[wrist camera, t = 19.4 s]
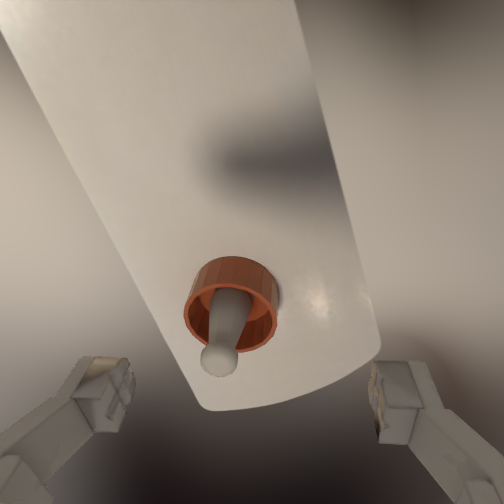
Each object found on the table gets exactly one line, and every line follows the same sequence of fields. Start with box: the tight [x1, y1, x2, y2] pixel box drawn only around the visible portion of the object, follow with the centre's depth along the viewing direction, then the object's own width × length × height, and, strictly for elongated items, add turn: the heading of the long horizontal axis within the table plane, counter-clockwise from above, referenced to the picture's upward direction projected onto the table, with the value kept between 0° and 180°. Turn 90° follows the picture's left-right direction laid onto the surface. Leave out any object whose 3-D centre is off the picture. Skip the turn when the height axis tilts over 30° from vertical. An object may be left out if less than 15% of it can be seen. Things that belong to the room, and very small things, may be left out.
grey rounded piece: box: [201, 287, 252, 377], centre depth 44 cm, size 6×6×13 cm
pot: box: [184, 257, 278, 353], centre depth 48 cm, size 12×12×6 cm
